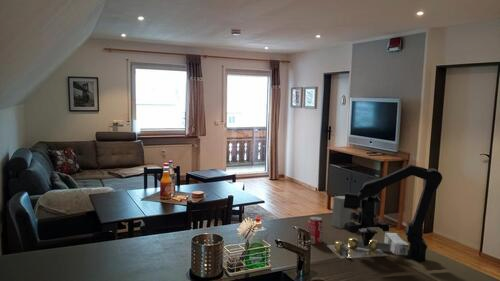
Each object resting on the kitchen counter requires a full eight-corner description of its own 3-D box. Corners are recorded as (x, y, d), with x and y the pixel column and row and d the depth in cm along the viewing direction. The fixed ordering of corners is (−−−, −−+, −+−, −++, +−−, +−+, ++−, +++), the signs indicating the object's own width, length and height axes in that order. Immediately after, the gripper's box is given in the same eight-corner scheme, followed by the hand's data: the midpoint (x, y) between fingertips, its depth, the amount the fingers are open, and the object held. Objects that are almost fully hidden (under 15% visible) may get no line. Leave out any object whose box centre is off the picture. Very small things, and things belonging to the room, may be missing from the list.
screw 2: (367, 249, 161) (367, 240, 161) (368, 245, 165) (368, 237, 165) (389, 252, 158) (390, 244, 157) (389, 249, 162) (390, 241, 161)
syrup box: (395, 244, 171) (408, 257, 157) (383, 244, 171) (394, 256, 157) (396, 232, 171) (409, 244, 156) (384, 232, 171) (395, 244, 156)
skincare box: (340, 229, 190) (342, 199, 188) (330, 225, 196) (332, 196, 194) (352, 227, 194) (354, 197, 192) (342, 223, 200) (344, 194, 198)
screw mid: (347, 247, 163) (347, 239, 162) (348, 244, 166) (349, 236, 166) (368, 251, 159) (369, 243, 158) (369, 248, 162) (370, 240, 162)
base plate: (388, 257, 156) (388, 254, 156) (340, 260, 151) (340, 257, 151) (370, 245, 169) (370, 242, 169) (326, 247, 165) (326, 244, 165)
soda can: (321, 240, 172) (322, 216, 171) (322, 246, 165) (324, 220, 164) (306, 239, 173) (307, 215, 172) (306, 245, 166) (308, 219, 165)
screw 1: (332, 248, 160) (333, 240, 160) (341, 248, 161) (341, 239, 161) (342, 257, 151) (342, 248, 151) (351, 256, 152) (351, 248, 152)
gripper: (377, 205, 167) (374, 238, 169) (339, 206, 163) (337, 239, 165) (391, 212, 157) (388, 247, 158) (351, 213, 153) (349, 249, 154)
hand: (365, 245), depth 159 cm, fingers closed
